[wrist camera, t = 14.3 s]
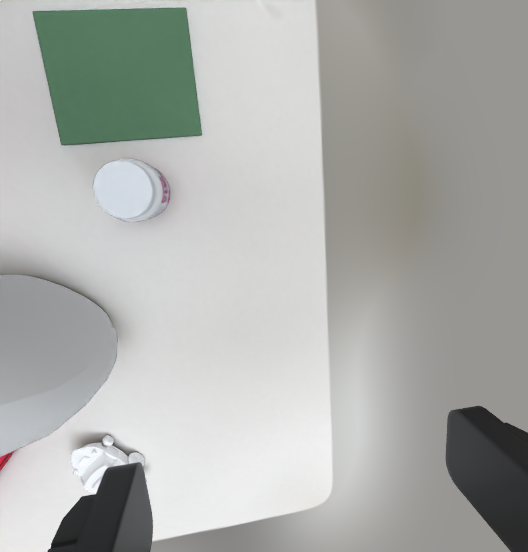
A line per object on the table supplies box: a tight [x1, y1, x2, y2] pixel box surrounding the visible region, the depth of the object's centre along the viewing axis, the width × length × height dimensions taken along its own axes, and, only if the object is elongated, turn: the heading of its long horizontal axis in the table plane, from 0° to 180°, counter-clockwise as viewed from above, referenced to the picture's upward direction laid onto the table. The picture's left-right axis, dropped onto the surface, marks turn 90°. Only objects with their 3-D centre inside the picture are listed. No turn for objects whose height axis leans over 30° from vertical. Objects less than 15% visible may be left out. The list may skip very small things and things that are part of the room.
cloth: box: [33, 8, 202, 145], centre depth 30 cm, size 12×10×1 cm
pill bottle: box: [93, 159, 170, 222], centre depth 28 cm, size 5×5×8 cm
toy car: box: [71, 436, 147, 494], centre depth 36 cm, size 5×8×4 cm, turn 46°
